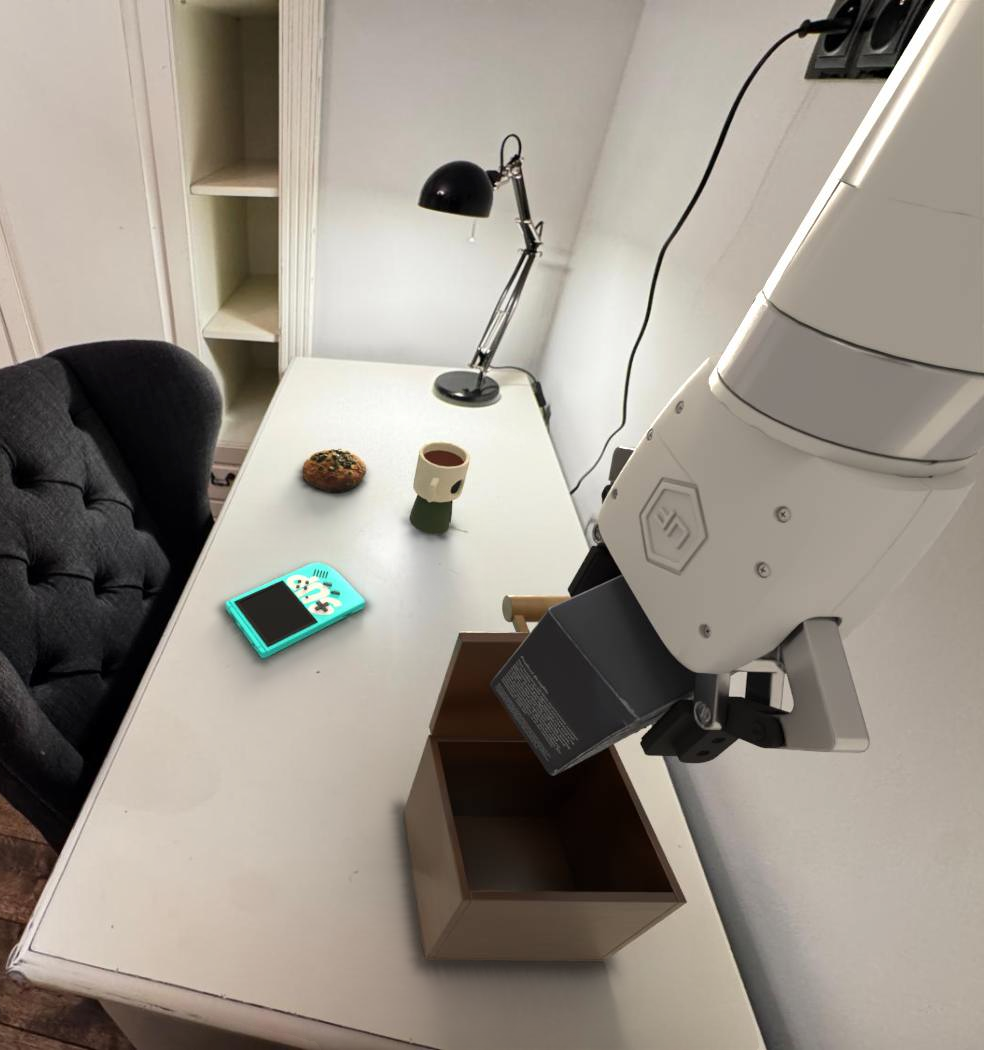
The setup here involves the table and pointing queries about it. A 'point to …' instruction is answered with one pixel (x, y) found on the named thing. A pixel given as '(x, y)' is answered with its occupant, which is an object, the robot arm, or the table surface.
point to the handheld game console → (293, 607)
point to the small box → (590, 676)
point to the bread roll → (334, 470)
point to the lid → (485, 673)
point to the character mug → (438, 485)
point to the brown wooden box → (531, 854)
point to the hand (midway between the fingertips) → (628, 664)
